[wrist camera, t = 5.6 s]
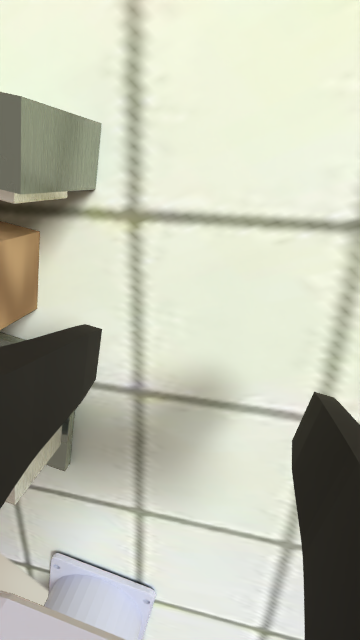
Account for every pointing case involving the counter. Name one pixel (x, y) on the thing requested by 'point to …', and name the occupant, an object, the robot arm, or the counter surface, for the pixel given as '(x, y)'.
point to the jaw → (35, 467)
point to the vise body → (45, 176)
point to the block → (18, 272)
